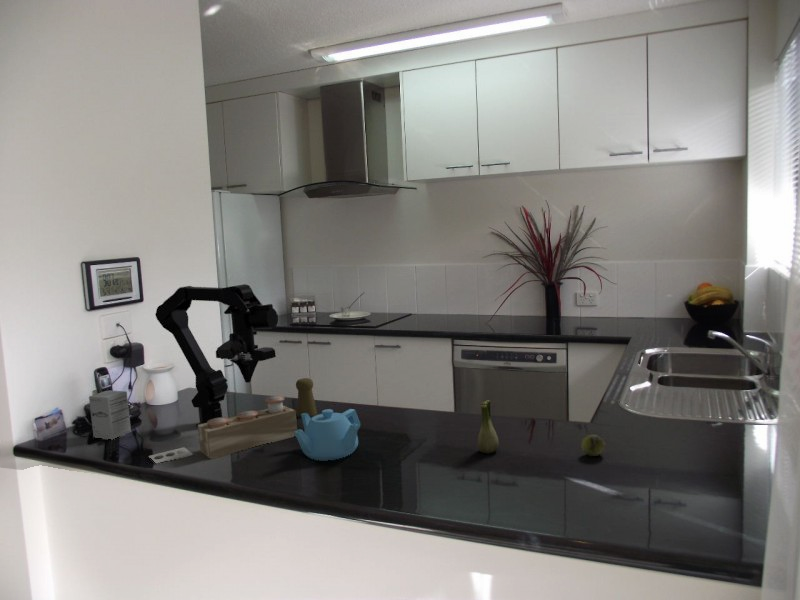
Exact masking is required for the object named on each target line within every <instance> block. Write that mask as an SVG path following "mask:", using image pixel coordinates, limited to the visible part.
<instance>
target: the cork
mask: <svg viewBox="0 0 800 600" xmlns="http://www.w3.org/2000/svg"><path fill="white" fill-rule="evenodd" d="M295 387H296V389H297V391H298V392H297V405H296V406H297V411H296V417H297V418H302V417H301V414H303V413H307V414H308V415H309V416H311V417H314V416H316V415H318V410H317V407H316V402H315V396H314V393H313V390H312V389H313V388H314V380H313V379H312V378H308V377H307V378H306V377H305V378H300V379H297V381H296V382H295Z"/></svg>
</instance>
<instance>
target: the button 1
mask: <svg viewBox="0 0 800 600" xmlns="http://www.w3.org/2000/svg"><path fill="white" fill-rule="evenodd" d="M228 418H229V417H223V416H222V417H220V418H214V419H211V420H209V421H207V424H208V425H209V426H210V427H211V428H212V429H213V428H217V427H222V426H226V423H228Z"/></svg>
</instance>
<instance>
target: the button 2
mask: <svg viewBox="0 0 800 600" xmlns="http://www.w3.org/2000/svg"><path fill="white" fill-rule="evenodd" d="M284 401H285V396H284V395H273V396H269V397H266V398H265V399H264V403H266V404H267V409H268V413H269V414H271V415H272V414H276V413H280V412H283V405H284V404H283V402H284Z"/></svg>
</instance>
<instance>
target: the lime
mask: <svg viewBox="0 0 800 600" xmlns="http://www.w3.org/2000/svg"><path fill="white" fill-rule="evenodd" d="M580 443H581V444H580V445H581V446H580V447H581V448H582V450H583V453H585V454H586V455H587V456H589V457H596V456H597V457H598V456H599V455H601V454H602V453H603V451H604V450H605V448H606V447H605V446H606V444H605V441H604V439H603V438H602V437H601V436H599V435H597V434H589V435H587V436H586V437H584V438H583V439H582V440H581V442H580Z"/></svg>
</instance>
